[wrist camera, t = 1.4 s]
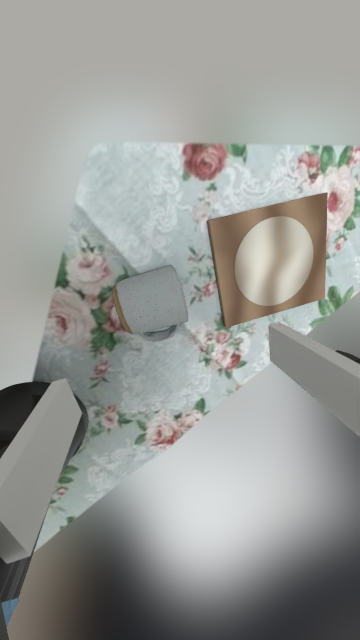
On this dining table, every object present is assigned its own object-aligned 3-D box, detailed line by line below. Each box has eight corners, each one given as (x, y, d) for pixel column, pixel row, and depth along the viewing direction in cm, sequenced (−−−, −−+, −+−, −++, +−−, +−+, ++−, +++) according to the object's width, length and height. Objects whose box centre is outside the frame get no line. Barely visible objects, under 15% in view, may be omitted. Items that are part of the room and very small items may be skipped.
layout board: (223, 325, 34) (227, 328, 33) (206, 221, 28) (209, 219, 27) (319, 297, 36) (326, 298, 35) (321, 194, 30) (329, 191, 29)
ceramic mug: (112, 279, 28) (104, 289, 21) (169, 262, 29) (179, 267, 22) (138, 344, 32) (138, 371, 25) (187, 327, 33) (201, 349, 26)
